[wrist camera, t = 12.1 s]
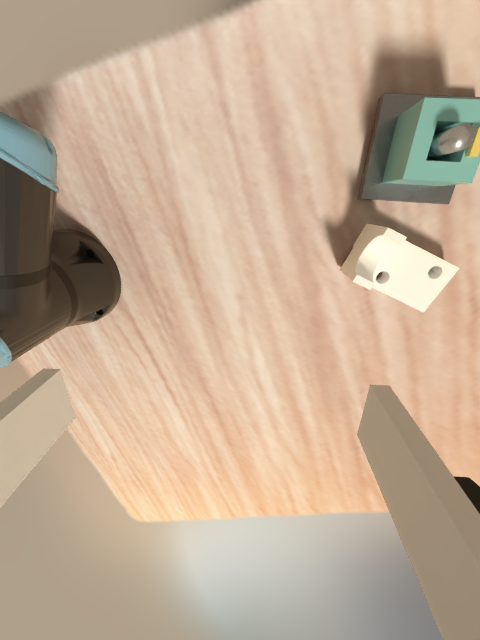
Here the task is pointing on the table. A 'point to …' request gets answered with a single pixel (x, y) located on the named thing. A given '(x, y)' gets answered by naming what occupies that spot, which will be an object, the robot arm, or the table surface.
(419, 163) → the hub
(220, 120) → the table surface
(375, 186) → the shaft base
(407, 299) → the bracket
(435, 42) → the table surface
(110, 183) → the table surface
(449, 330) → the table surface
